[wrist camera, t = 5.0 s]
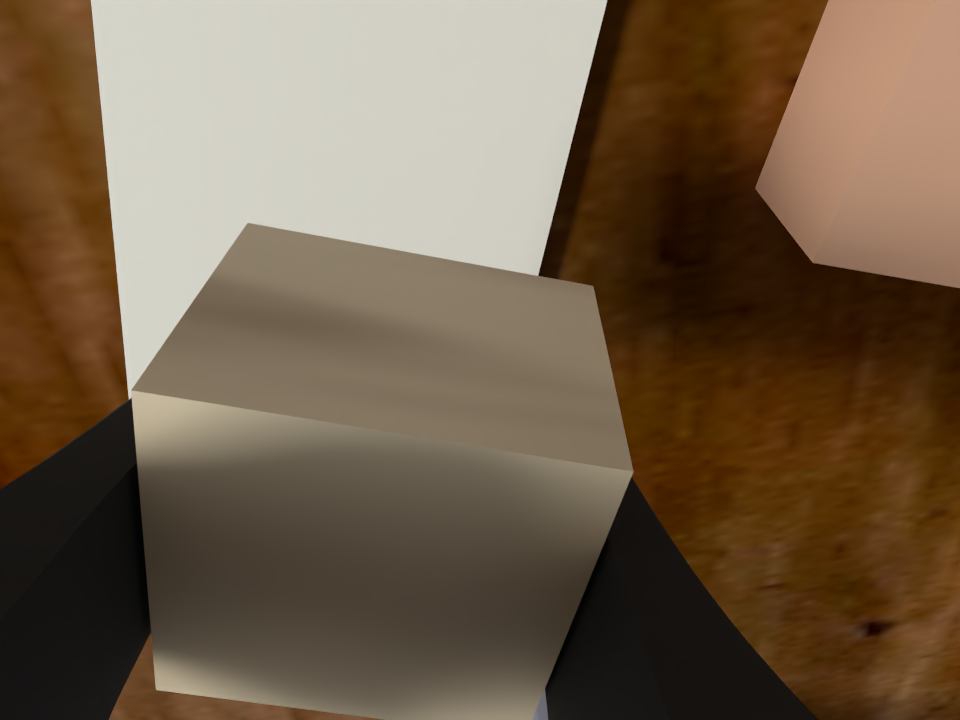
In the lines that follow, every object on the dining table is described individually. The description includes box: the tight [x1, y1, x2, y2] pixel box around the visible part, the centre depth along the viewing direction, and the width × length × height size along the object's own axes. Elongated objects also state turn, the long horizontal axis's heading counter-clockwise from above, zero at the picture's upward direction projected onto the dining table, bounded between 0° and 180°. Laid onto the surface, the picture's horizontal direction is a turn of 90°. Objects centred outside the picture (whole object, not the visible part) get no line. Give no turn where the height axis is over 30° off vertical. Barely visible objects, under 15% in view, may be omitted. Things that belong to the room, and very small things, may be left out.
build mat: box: [91, 0, 607, 399], centre depth 17 cm, size 16×10×1 cm, turn 170°
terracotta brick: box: [755, 0, 960, 288], centre depth 15 cm, size 5×5×4 cm
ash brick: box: [131, 223, 633, 720], centre depth 10 cm, size 5×5×4 cm
